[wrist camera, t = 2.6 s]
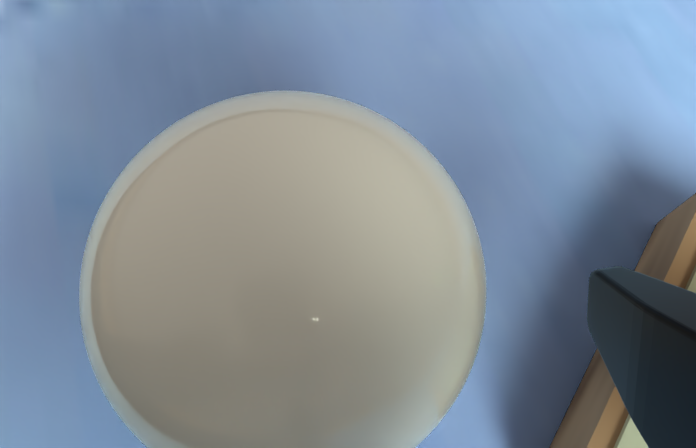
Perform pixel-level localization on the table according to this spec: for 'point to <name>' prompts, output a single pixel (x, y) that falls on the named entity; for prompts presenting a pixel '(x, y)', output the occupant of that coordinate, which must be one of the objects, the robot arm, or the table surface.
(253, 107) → the lightbulb
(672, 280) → the pedestal
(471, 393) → the table surface
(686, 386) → the robot arm
